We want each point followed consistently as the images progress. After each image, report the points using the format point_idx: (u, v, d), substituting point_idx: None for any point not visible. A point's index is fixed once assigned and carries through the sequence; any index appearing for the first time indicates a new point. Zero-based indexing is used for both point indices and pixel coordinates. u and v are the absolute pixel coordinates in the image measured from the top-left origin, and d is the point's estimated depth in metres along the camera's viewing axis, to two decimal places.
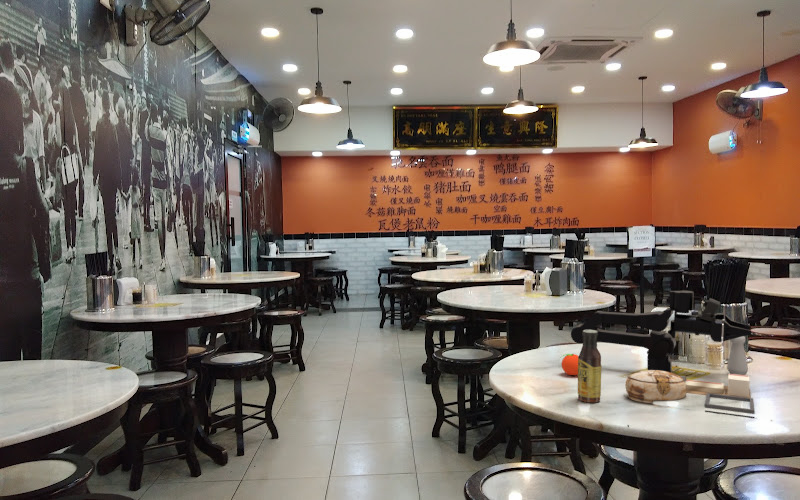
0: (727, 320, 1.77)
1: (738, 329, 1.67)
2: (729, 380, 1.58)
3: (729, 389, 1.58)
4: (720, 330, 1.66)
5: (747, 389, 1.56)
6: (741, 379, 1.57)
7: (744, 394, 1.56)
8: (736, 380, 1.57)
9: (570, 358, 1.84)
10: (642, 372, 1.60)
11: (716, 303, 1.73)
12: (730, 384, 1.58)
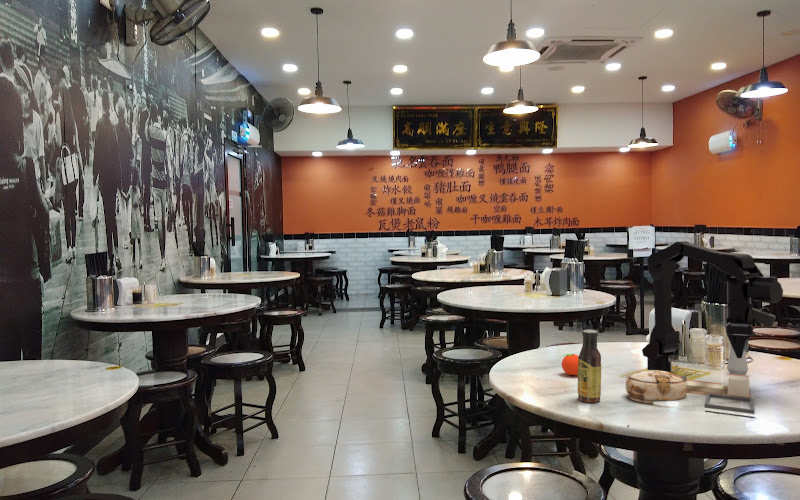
0: None
1: (742, 347, 1.54)
2: (729, 380, 1.58)
3: (729, 389, 1.58)
4: (741, 333, 1.51)
5: (747, 389, 1.56)
6: (741, 379, 1.57)
7: (744, 394, 1.56)
8: (736, 380, 1.57)
9: (570, 358, 1.84)
10: (642, 372, 1.60)
11: (771, 324, 1.53)
12: (730, 384, 1.58)
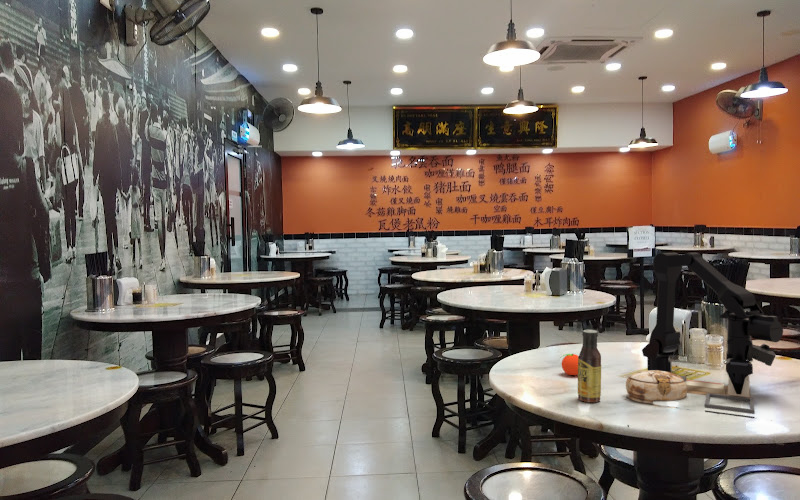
0: None
1: (741, 383, 1.56)
2: (729, 380, 1.58)
3: (729, 389, 1.58)
4: (741, 372, 1.51)
5: (747, 389, 1.56)
6: None
7: (744, 394, 1.57)
8: None
9: (570, 358, 1.84)
10: (642, 372, 1.60)
11: (770, 362, 1.54)
12: (730, 384, 1.58)
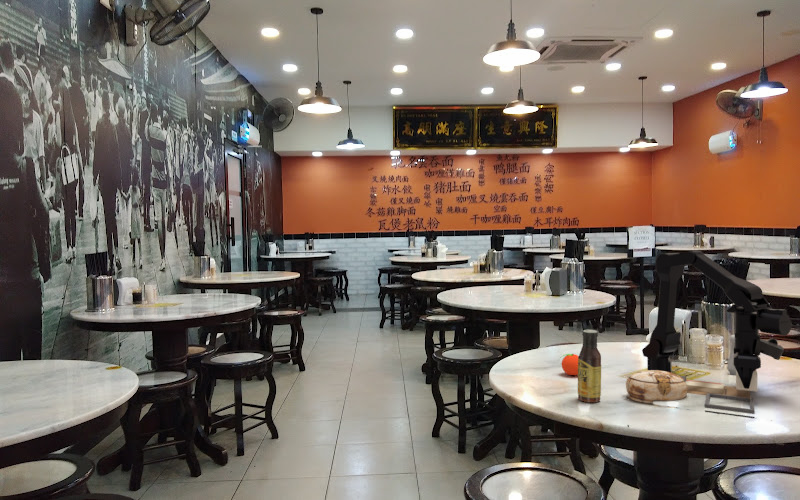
0: None
1: (749, 378, 1.54)
2: (737, 374, 1.57)
3: (737, 383, 1.57)
4: (749, 366, 1.50)
5: (755, 383, 1.55)
6: None
7: (752, 388, 1.55)
8: None
9: (570, 358, 1.84)
10: (643, 372, 1.60)
11: (779, 356, 1.53)
12: (738, 378, 1.57)
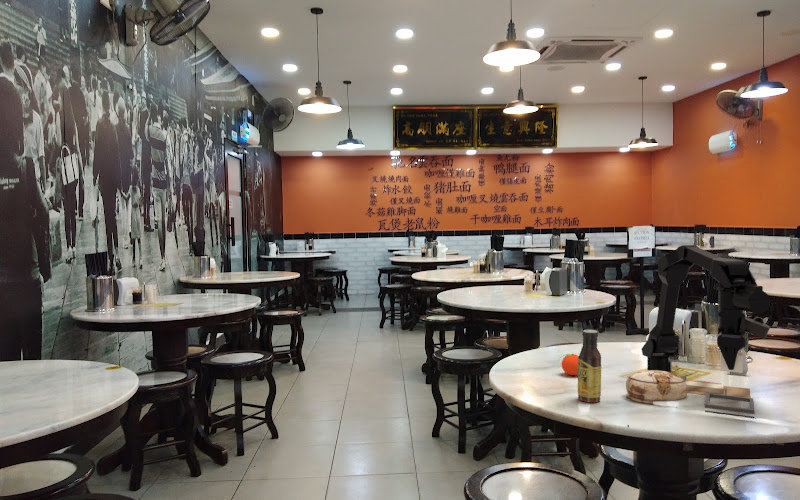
0: None
1: (734, 358, 1.46)
2: (721, 355, 1.49)
3: (721, 365, 1.49)
4: (733, 344, 1.42)
5: (740, 364, 1.46)
6: None
7: (737, 370, 1.47)
8: None
9: (570, 358, 1.84)
10: (642, 372, 1.60)
11: (764, 335, 1.44)
12: (722, 359, 1.48)
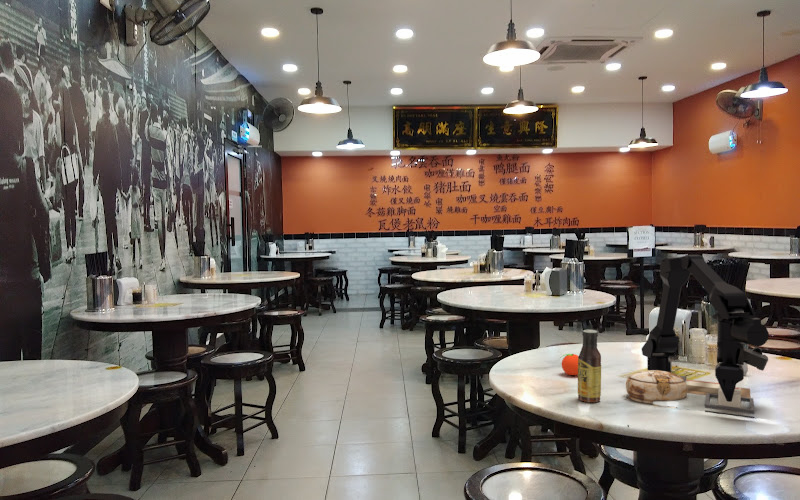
0: None
1: (732, 390, 1.45)
2: (719, 393, 1.49)
3: (719, 402, 1.49)
4: (731, 377, 1.42)
5: (738, 403, 1.47)
6: None
7: None
8: None
9: (570, 358, 1.84)
10: (642, 372, 1.60)
11: (763, 367, 1.44)
12: (720, 397, 1.49)
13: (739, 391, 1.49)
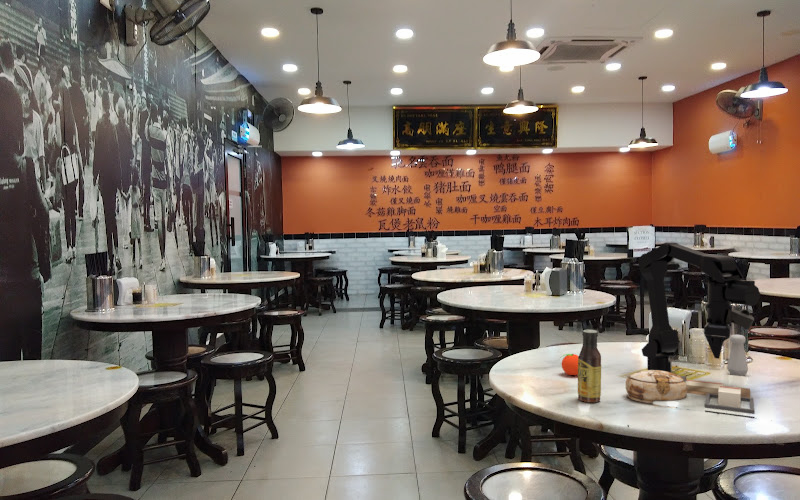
0: None
1: (719, 348, 1.57)
2: (719, 393, 1.49)
3: (719, 402, 1.49)
4: (718, 334, 1.54)
5: (738, 403, 1.47)
6: (732, 392, 1.48)
7: None
8: (726, 393, 1.48)
9: (570, 358, 1.84)
10: (642, 372, 1.61)
11: (749, 326, 1.56)
12: (720, 397, 1.49)
13: (739, 391, 1.49)
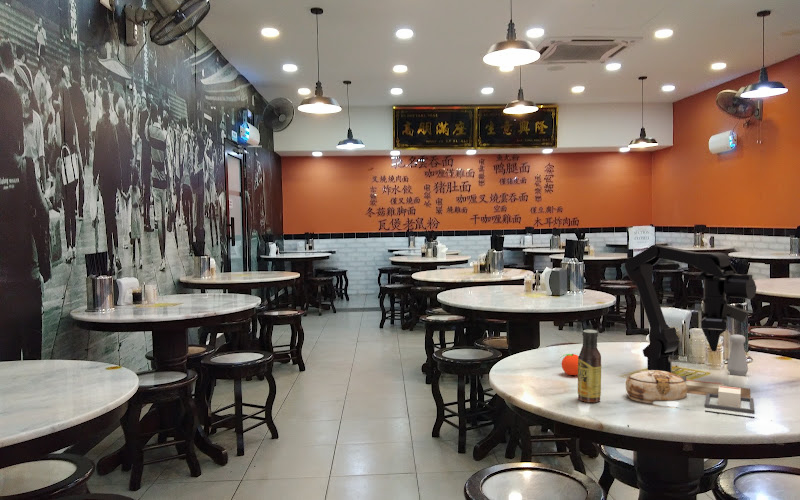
0: None
1: (716, 341, 1.63)
2: (719, 393, 1.49)
3: (719, 402, 1.49)
4: (715, 327, 1.60)
5: (738, 403, 1.47)
6: (732, 392, 1.48)
7: None
8: (726, 393, 1.48)
9: (570, 358, 1.84)
10: (642, 372, 1.61)
11: (744, 319, 1.62)
12: (720, 397, 1.49)
13: (739, 391, 1.49)
